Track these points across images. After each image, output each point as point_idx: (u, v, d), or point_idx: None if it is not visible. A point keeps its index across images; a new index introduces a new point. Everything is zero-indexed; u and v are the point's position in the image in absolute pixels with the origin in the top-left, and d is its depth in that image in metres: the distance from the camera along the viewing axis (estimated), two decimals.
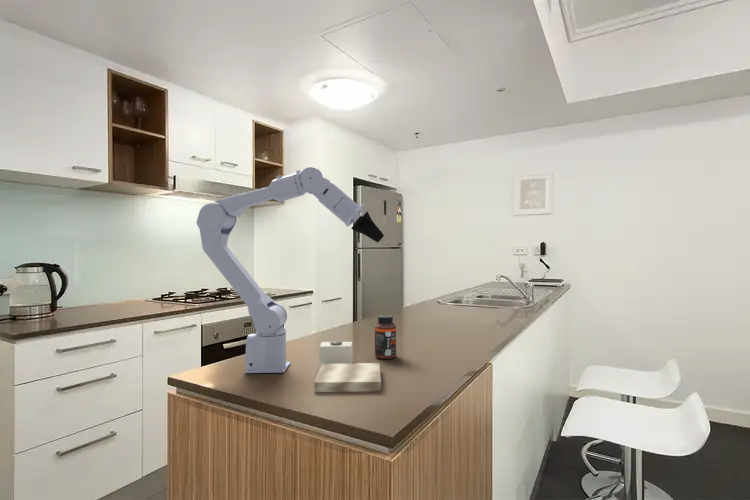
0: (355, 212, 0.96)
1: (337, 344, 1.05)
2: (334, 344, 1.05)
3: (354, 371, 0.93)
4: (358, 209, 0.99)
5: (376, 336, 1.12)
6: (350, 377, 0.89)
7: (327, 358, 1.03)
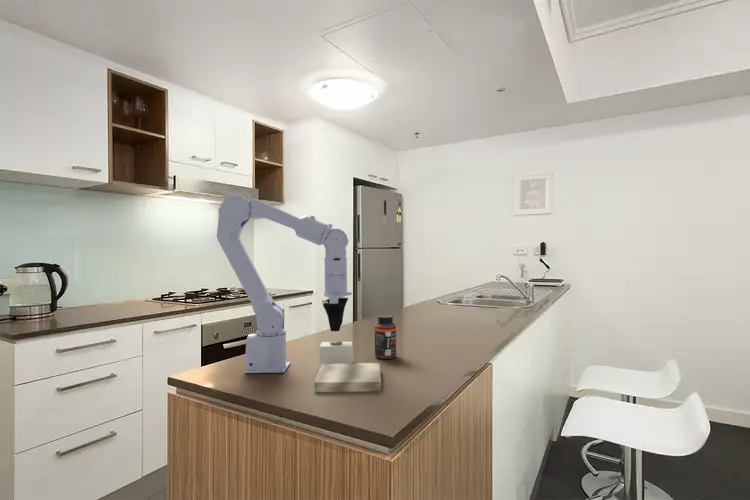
0: (336, 298, 0.99)
1: (337, 344, 1.05)
2: (334, 344, 1.05)
3: (354, 371, 0.93)
4: (342, 295, 1.02)
5: (376, 336, 1.12)
6: (350, 377, 0.89)
7: (327, 358, 1.03)
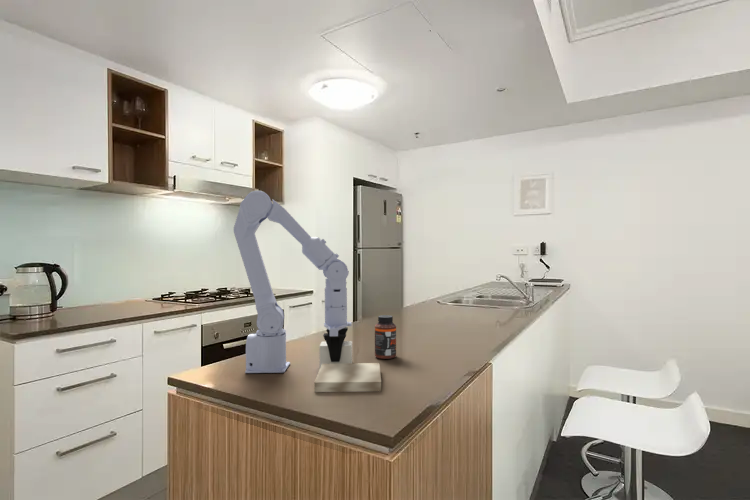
0: (336, 331, 0.99)
1: None
2: None
3: (354, 371, 0.93)
4: (342, 327, 1.02)
5: (376, 336, 1.12)
6: (350, 377, 0.89)
7: (327, 357, 1.03)
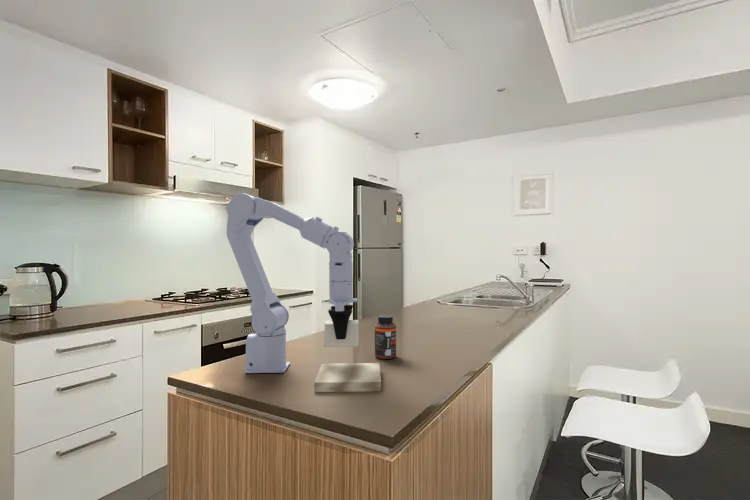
0: (342, 305, 0.93)
1: None
2: None
3: (354, 371, 0.93)
4: (348, 302, 0.97)
5: (376, 336, 1.12)
6: (350, 377, 0.89)
7: (332, 336, 0.98)
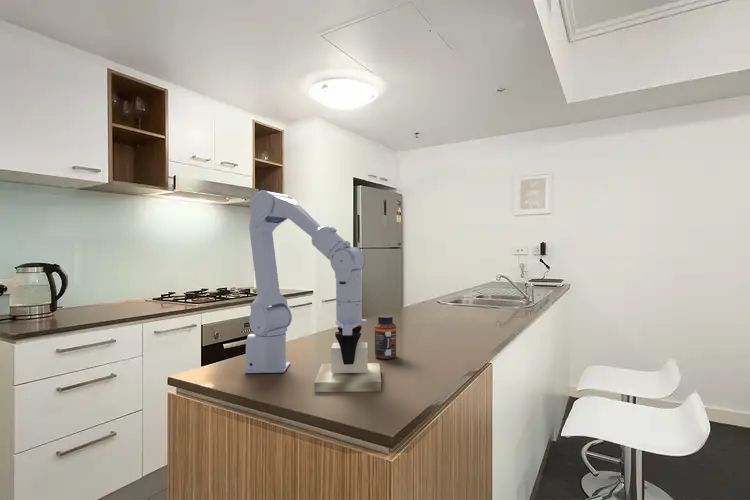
0: (350, 329, 0.86)
1: None
2: None
3: None
4: (356, 324, 0.89)
5: (376, 336, 1.12)
6: (350, 377, 0.89)
7: (339, 361, 0.91)
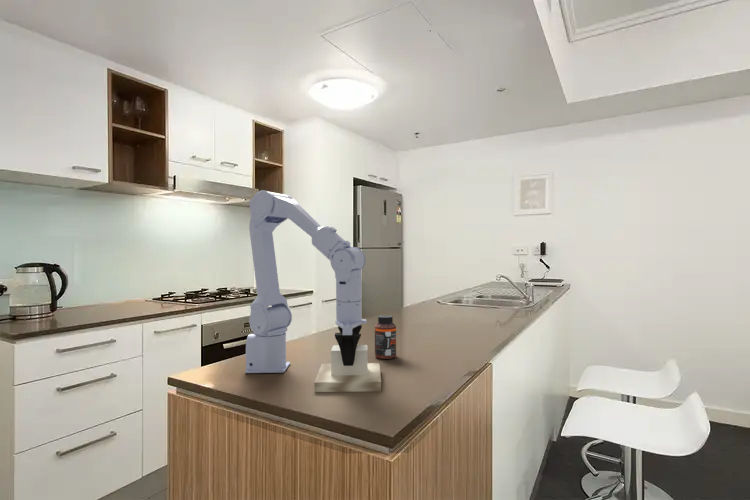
0: (350, 329, 0.86)
1: None
2: None
3: None
4: (356, 324, 0.89)
5: (376, 336, 1.12)
6: (350, 377, 0.89)
7: (339, 363, 0.91)
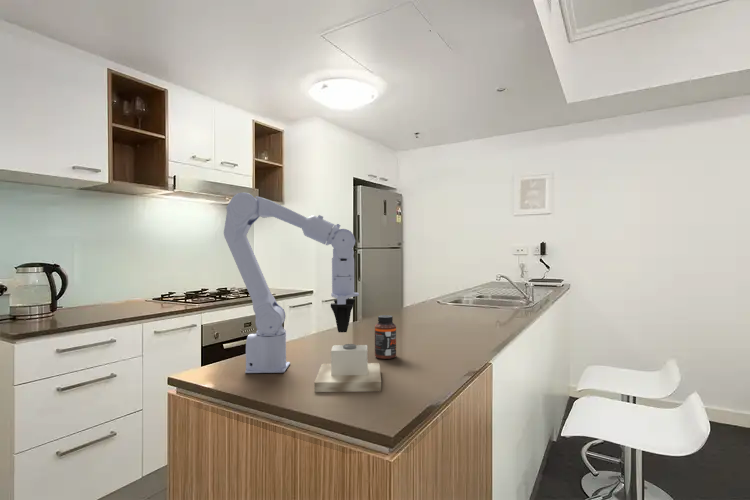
0: (344, 299, 0.98)
1: (351, 348, 0.92)
2: (348, 348, 0.92)
3: None
4: (349, 296, 1.01)
5: (376, 336, 1.12)
6: (350, 377, 0.89)
7: (339, 363, 0.91)
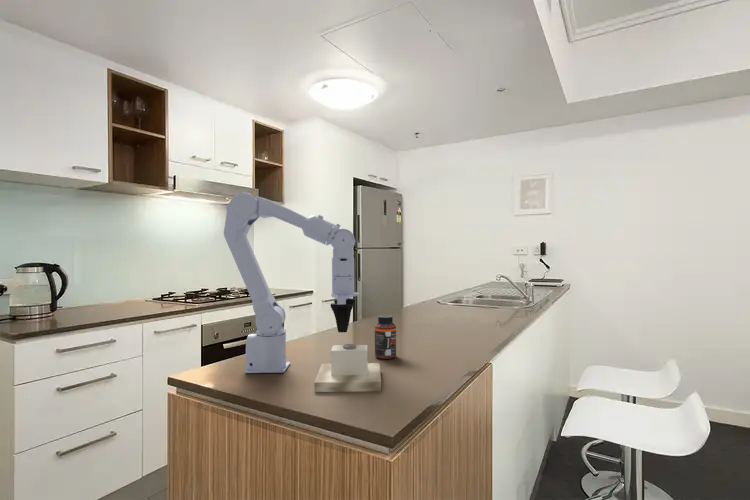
0: (344, 299, 0.98)
1: (351, 348, 0.92)
2: (348, 348, 0.92)
3: None
4: (349, 296, 1.01)
5: (376, 336, 1.12)
6: (350, 377, 0.89)
7: (339, 363, 0.91)
